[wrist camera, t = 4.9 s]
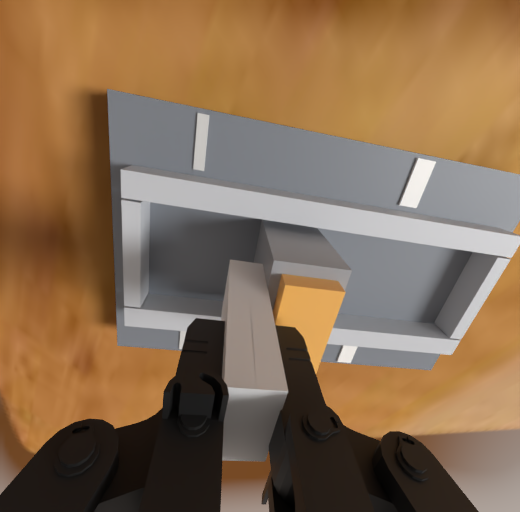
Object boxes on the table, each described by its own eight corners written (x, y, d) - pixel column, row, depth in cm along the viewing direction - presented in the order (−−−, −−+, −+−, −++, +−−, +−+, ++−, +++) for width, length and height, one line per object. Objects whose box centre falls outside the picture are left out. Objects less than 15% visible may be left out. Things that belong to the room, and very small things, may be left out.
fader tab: (262, 218, 14) (276, 270, 9) (316, 227, 15) (361, 281, 9) (246, 298, 16) (251, 378, 11) (295, 303, 17) (321, 383, 11)
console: (124, 94, 13) (89, 83, 10) (510, 174, 16) (575, 184, 13) (129, 324, 19) (107, 364, 16) (414, 350, 22) (444, 387, 19)
